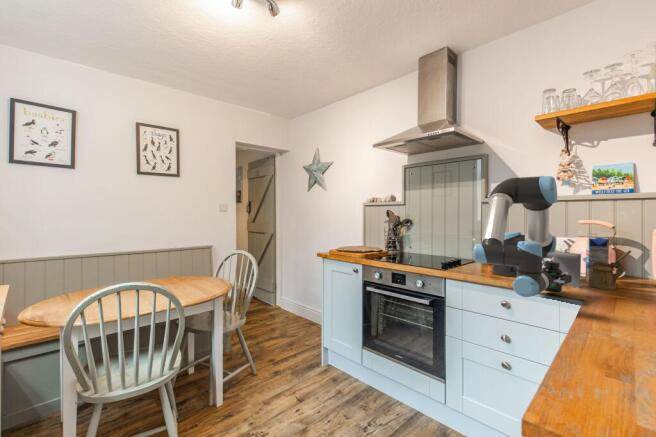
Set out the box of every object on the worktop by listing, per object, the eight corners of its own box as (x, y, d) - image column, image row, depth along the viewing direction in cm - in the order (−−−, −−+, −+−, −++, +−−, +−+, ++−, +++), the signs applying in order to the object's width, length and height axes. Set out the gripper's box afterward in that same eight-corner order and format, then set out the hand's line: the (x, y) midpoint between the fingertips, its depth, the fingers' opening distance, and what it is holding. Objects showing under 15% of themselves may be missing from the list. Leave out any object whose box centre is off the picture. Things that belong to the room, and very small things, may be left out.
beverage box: (588, 283, 145) (589, 238, 144) (585, 279, 154) (586, 236, 153) (607, 286, 141) (609, 239, 140) (603, 281, 150) (604, 237, 149)
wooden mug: (630, 293, 128) (631, 251, 128) (588, 287, 138) (589, 248, 138) (629, 289, 135) (631, 249, 134) (590, 284, 144) (591, 246, 144)
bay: (546, 287, 138) (547, 253, 138) (553, 283, 145) (554, 251, 145) (573, 291, 130) (574, 256, 130) (580, 287, 137) (581, 253, 137)
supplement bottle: (556, 293, 122) (557, 264, 122) (538, 289, 128) (539, 261, 128) (565, 291, 125) (565, 262, 125) (546, 287, 131) (547, 260, 131)
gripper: (509, 285, 123) (529, 278, 137) (569, 296, 108) (584, 286, 122) (509, 267, 123) (529, 261, 137) (570, 275, 107) (585, 268, 122)
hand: (555, 273), depth 130 cm, fingers closed on supplement bottle, 7 cm apart
